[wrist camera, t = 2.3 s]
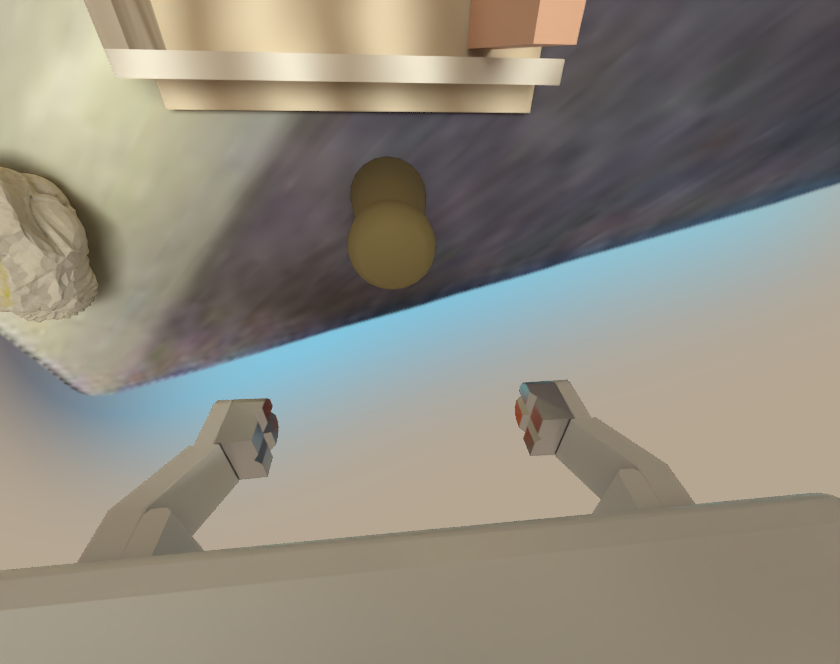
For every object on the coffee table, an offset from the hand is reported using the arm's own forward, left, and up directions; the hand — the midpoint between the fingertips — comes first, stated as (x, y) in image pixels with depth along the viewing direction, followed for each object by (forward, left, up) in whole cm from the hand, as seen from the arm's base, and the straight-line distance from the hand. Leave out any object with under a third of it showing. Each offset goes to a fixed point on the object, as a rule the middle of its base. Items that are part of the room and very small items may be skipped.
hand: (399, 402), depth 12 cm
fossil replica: (+26, +2, -22) cm, 34 cm away
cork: (0, 0, -22) cm, 22 cm away
